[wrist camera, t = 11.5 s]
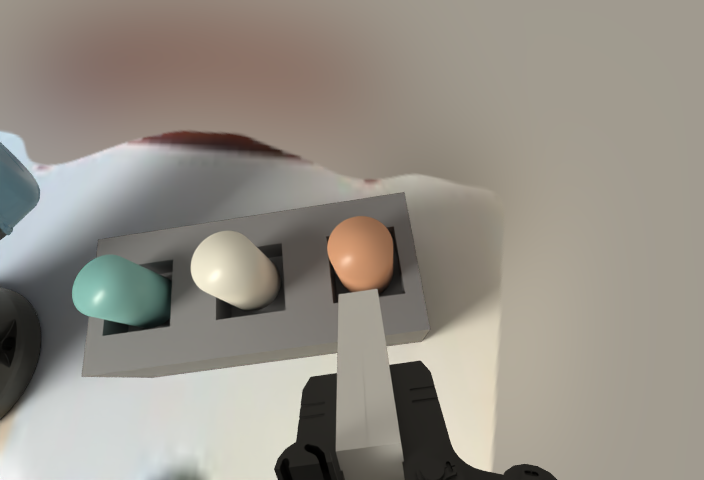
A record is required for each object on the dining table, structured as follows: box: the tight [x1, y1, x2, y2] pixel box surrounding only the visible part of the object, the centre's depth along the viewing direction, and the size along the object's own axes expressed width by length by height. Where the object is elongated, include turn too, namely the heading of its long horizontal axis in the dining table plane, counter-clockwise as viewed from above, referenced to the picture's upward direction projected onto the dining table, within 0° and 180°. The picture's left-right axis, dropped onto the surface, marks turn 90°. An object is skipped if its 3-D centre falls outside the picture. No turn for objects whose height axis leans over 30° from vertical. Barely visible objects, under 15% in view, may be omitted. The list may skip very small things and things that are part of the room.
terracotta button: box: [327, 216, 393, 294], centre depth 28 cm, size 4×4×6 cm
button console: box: [82, 192, 430, 378], centre depth 34 cm, size 26×11×9 cm, turn 97°
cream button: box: [191, 231, 281, 311], centre depth 28 cm, size 4×4×6 cm
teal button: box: [72, 255, 172, 328], centre depth 29 cm, size 4×4×6 cm
